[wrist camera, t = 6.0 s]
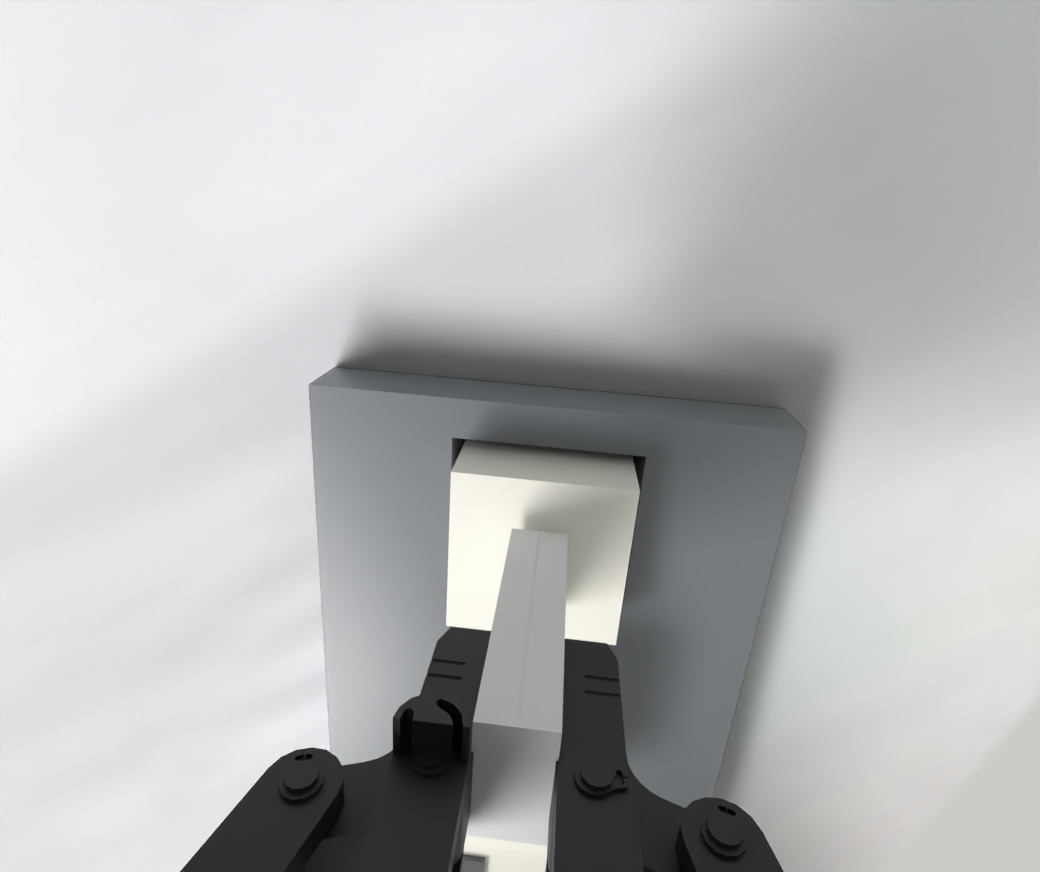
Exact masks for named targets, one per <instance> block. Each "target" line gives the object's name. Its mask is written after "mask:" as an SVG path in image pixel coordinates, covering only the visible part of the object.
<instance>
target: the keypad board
mask: <svg viewBox="0 0 1040 872" xmlns="http://www.w3.org/2000/svg"><path fill="white" fill-rule="evenodd" d="M309 398H310V415H311V433H312V450H313V467H314V484H315V501H316V518H317V535H318V552H319V570H320V587H321V604H322V621H323V638H324V655H325V672H326V689H327V707H328V724H329V741H330V753H332V754H333V755H335V756H336V757H337V758H338V759H339V761H340V763H341V765H348V764H354V763H360V762H366V761H370V760H373V759H377V758H379V757H381V756H384V755H386V754H388V753H389V752H391V751H392V750H393V716H394V715H395V713H396V712H397V710H398V708H399V707H400V706H401V705H402V704H404V703H405V702H406V701H408V700H409V699H410V698H413V697H416V696H419V695H420V693H421V690H422V687H423V683H424V680H425V677H426V676H427V671H428V668H429V665H430V662H431V660H432V656H433V652H434V649H435V646H436V643H437V641H438V640H439V639H440V638H441V637H442V636H443V635H444V634H445V632H446V631H447V630H448V629H449V628H450V627H453V626H446V610H447V578H448V546H449V514H450V483H451V470H452V468H453V466H454V464H455V462H456V460H457V458H458V456H459V454H460V451H461V449H462V447H463V439H471V440H481V441H491V442H501V443H512V444H522V445H532V446H542V447H552V448H563V449H573V450H583V451H593V452H603V453H614V454H624V455H634V456H636V460H635V470H636V475H637V479H638V484H639V489H640V495H639V501H638V507H637V514H636V520H635V526H634V533H633V539H632V545H631V552H630V558H629V564H628V571H627V577H626V583H625V590H624V596H623V602H622V609H621V615H620V622H619V628H618V634H617V641H616V645H608V646H609V647H610V649H611V650H612V652H613V654H614V655H615V657H616V658H617V660H618V668H619V683H620V691H621V702H622V713H623V724H624V735H625V746H626V756H627V760H628V764H629V766H630V768H631V770H632V772H633V774H634V776H635V777H636V778H637V779H638V780H639V782H640V783H641V784H642V785H643V786H645V787H646V788H647V789H648V790H649V791H651V792H652V793H654V794H656V795H658V796H659V797H661V798H663V799H665V800H668V801H670V802H672V803H674V804H677V805H679V806H681V807H684V808H686V807H687V806H688V805H689V804H690V803H691V802H692V801H694V800H698V799H701V798H704V797H710V798H713V795H714V791H715V787H716V783H717V779H718V775H719V771H720V767H721V764H722V760H723V756H724V752H725V748H726V744H727V740H728V736H729V733H730V729H731V725H732V721H733V717H734V713H735V709H736V706H737V702H738V698H739V694H740V690H741V686H742V682H743V678H744V675H745V671H746V667H747V663H748V659H749V655H750V651H751V647H752V644H753V640H754V636H755V632H756V628H757V624H758V620H759V616H760V613H761V609H762V605H763V601H764V597H765V593H766V589H767V585H768V582H769V578H770V574H771V570H772V566H773V562H774V558H775V555H776V551H777V547H778V543H779V539H780V535H781V531H782V527H783V524H784V520H785V516H786V512H787V508H788V504H789V500H790V496H791V493H792V489H793V485H794V481H795V477H796V473H797V469H798V465H799V462H800V458H801V454H802V450H803V446H804V442H805V438H806V435H807V431H806V430H805V429H804V428H803V427H802V426H801V425H800V424H799V423H798V422H797V421H796V420H795V419H794V418H793V417H792V416H791V415H790V414H789V413H788V412H787V411H786V410H785V409H782V408H771V407H760V406H750V405H739V404H728V403H717V402H706V401H695V400H685V399H674V398H663V397H652V396H641V395H631V394H620V393H609V392H598V391H587V390H576V389H566V388H555V387H544V386H533V385H522V384H512V383H501V382H490V381H479V380H468V379H457V378H447V377H436V376H425V375H414V374H403V373H393V372H382V371H371V370H360V369H349V368H338V367H334V368H333V369H331V370H330V371H328V372H327V373H325V374H324V375H322V376H321V377H319V378H318V379H316V380H315V381H313V382H312V383H310V384H309ZM458 628H462V627H458ZM466 629H470V628H466ZM475 630H479V629H475ZM484 631H488V630H484Z"/></svg>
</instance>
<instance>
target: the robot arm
mask: <svg viewBox="0 0 1040 872" xmlns="http://www.w3.org/2000/svg"><path fill="white" fill-rule="evenodd" d="M567 544H568V534H561V533H551V532H542V531H533V530H523V529H514V528H512V531H511V536H510V541H509V546H508V551H507V556H506V561H505V566H504V571H503V576H502V580H501V585H500V590H499V595H498V600H497V605H496V610H495V615H494V620H493V625H492V630H491V631H484V630H475V629H466V628H458V627H450V628H449V629H448V630H447V631H446V632H445V634H444V635H443V636H442V637H441V638H440V639H439V640H438V641H437V643H436V646H435V649H434V652H433V656H432V660H431V662H430V665H429V668H428V671H427V676H426V677H425V680H424V683H423V687H422V690H421V693H420V695H419V696H416V697H413V698H410V699H409V700H408V701H406V702H405V703H404V704H402V705H401V706H400V707H399V708H398V710H397V712H396V713H395V715H394V716H393V750H392V751H391V752H389V753H388V754H386V755H384V756H381V757H379V758H377V759H373V760H370V761H366V762H360V763H354V764H348V765H341V763H340V761H339V759H338V758H337V757H336V756H335V755H333V754H332V753H330V752H329V751H327V750H323V749H317V748H306V749H300V750H295V751H293V752H291V753H289V754H287V755H285V756H283V757H281V758H280V759H278V760H277V761H276V762H275V763H274V764H273V765H272V766H270V767H269V768H268V769H267V770H266V772H265V773H264V774H263V775H262V776H261V777H260V779H259V780H258V781H257V782H256V783H255V785H254V786H253V787H252V788H251V789H250V790H249V792H248V793H247V794H246V795H245V796H244V797H243V799H242V800H241V801H240V802H239V803H238V804H237V806H236V807H235V808H234V809H233V810H232V811H231V813H230V814H229V815H228V816H227V817H226V819H225V820H224V821H223V822H222V823H221V824H220V826H219V827H218V828H217V829H216V830H215V831H214V833H213V834H212V835H211V836H210V837H209V838H208V840H207V841H206V842H205V843H204V844H203V845H202V847H201V848H200V849H199V850H198V851H197V853H196V854H195V855H194V856H193V857H192V858H191V860H190V861H189V862H188V863H187V864H186V865H185V867H184V868H183V869H182V870H181V871H180V872H462V869H463V853H464V844H465V838H466V832H467V835H469V836H477V837H484V838H491V839H499V840H506V841H513V842H521V843H528V844H536V845H543V846H547V862H546V870H545V872H783V870H782V868H781V866H780V864H779V862H778V860H777V858H776V857H775V855H774V853H773V851H772V849H771V847H770V845H769V843H768V842H767V840H766V838H765V836H764V834H763V832H762V831H761V829H760V828H759V827H758V825H757V824H756V823H755V821H754V820H753V818H752V817H751V816H750V815H748V814H747V813H746V812H745V811H743V810H742V809H741V808H739V807H738V806H737V805H735V804H732V803H730V802H728V801H725V800H723V799H720V798H710V797H704V798H701V799H698V800H694V801H692V802H691V803H690V804H689V805H688V806H687V807H686V808H684V807H681V806H679V805H677V804H674V803H672V802H670V801H668V800H665V799H663V798H661V797H659V796H658V795H656V794H654V793H652V792H651V791H649V790H648V789H647V788H646V787H645V786H643V785H642V784H641V783H640V782H639V780H638V779H637V778H636V777H635V776H634V774H633V772H632V770H631V768H630V766H629V764H628V760H627V756H626V746H625V735H624V724H623V713H622V702H621V691H620V683H619V668H618V660H617V658H616V657H615V655H614V654H613V652H612V650H611V649H610V647H609V646H608V644H607V643H600V642H591V641H583V640H574V639H565V614H566V579H567Z"/></svg>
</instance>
